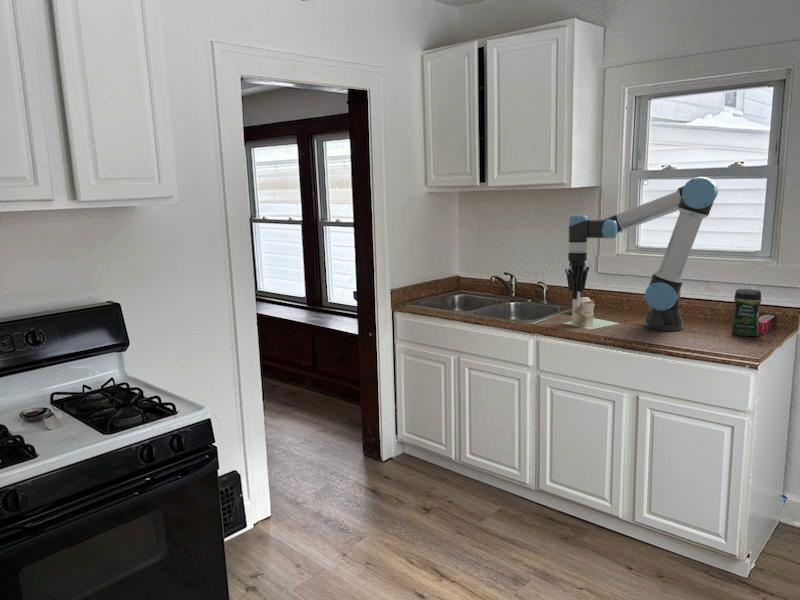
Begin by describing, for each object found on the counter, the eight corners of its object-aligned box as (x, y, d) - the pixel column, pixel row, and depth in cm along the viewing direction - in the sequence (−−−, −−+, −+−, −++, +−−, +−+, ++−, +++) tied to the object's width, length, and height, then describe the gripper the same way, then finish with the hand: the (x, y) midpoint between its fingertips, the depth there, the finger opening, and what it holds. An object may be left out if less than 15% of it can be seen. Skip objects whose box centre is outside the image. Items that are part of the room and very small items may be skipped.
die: (592, 318, 305) (600, 299, 308) (575, 309, 305) (583, 290, 307) (584, 321, 314) (592, 303, 316) (568, 312, 313) (575, 294, 316)
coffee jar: (729, 335, 264) (732, 289, 261) (733, 331, 271) (736, 287, 267) (756, 338, 259) (760, 291, 255) (760, 334, 265) (763, 288, 262)
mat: (619, 324, 289) (619, 323, 289) (590, 330, 279) (590, 329, 279) (590, 318, 302) (590, 317, 302) (562, 323, 292) (562, 323, 292)
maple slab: (593, 325, 285) (593, 300, 283) (586, 327, 283) (586, 302, 281) (578, 322, 292) (579, 298, 290) (571, 324, 289) (572, 299, 288)
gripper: (580, 250, 286) (579, 303, 290) (560, 252, 279) (559, 307, 283) (594, 251, 280) (593, 305, 284) (574, 253, 272) (572, 309, 277)
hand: (576, 306), depth 283 cm, fingers closed
